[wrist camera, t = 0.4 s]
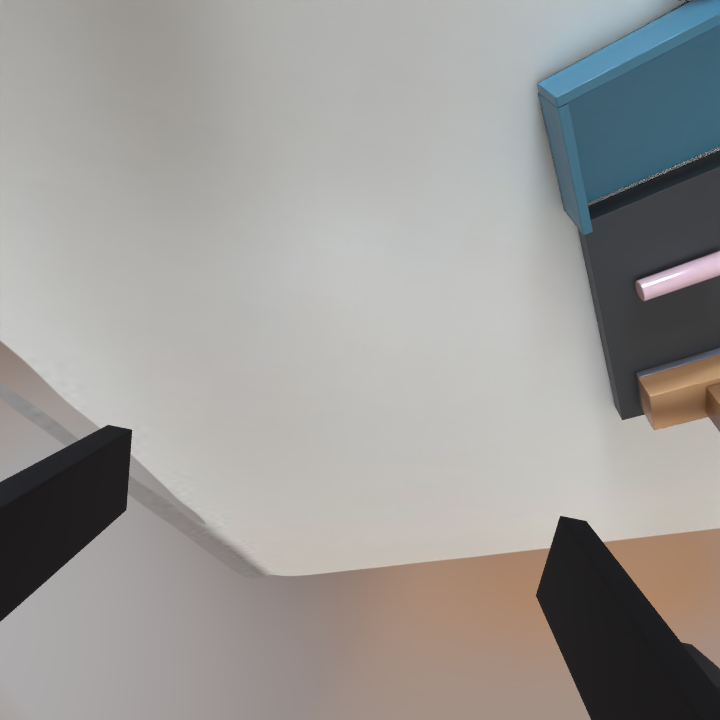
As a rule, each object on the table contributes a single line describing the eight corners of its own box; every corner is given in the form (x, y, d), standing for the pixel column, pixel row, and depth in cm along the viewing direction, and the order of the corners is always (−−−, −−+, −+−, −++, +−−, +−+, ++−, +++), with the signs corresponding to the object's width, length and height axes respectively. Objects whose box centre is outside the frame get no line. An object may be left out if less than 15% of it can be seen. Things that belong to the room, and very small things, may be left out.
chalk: (632, 277, 28) (642, 286, 26) (716, 247, 26) (730, 255, 25) (636, 295, 28) (646, 305, 27) (718, 267, 27) (732, 276, 25)
